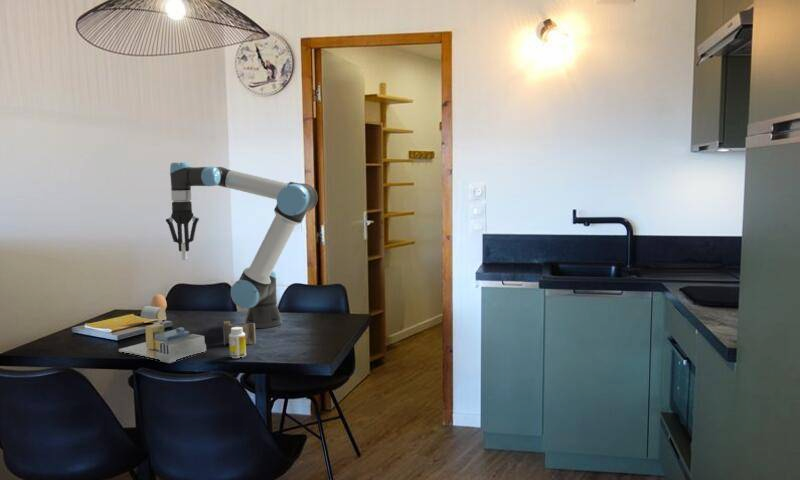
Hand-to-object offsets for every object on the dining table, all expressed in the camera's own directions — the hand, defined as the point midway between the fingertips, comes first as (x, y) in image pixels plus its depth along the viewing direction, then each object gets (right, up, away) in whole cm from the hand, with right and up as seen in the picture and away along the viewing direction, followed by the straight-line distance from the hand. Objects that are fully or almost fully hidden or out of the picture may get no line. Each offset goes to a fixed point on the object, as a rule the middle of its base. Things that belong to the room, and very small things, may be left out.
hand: (184, 259), depth 267 cm
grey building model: (+1, -33, -29) cm, 44 cm away
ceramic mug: (-18, -28, +17) cm, 38 cm away
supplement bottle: (+31, -33, -36) cm, 58 cm away
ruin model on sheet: (+27, -32, -19) cm, 46 cm away
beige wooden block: (+1, -31, -29) cm, 43 cm away
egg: (-23, -26, +36) cm, 50 cm away
